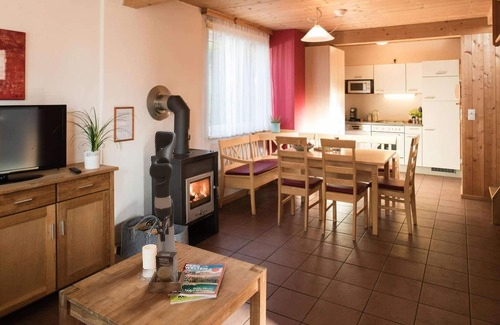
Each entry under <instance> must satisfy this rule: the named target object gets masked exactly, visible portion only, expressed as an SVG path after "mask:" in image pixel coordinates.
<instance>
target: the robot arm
mask: <svg viewBox="0 0 500 325" xmlns="http://www.w3.org/2000/svg"><path fill="white" fill-rule="evenodd" d="M176 146H177V134H176V133H175V132H174V131H163V130H157V131H156V132H155V134H154V149H155V150H154V153H155V160H154V161H153V162H152V163H151V165H150V166H149V170H148V172H149V176H150V177H151V178H152V179H154V182H155V183H154V184H155V185H154V200H153V203H154V204H153V211H154V214H155V215H154V216H156V217H158V218H159V219H158V221H157V230H158V232H157V234H158V237H157V238H156V240H157V253H158V252H159V251H169V252H176V242H175V241H176V240H175V236H176V235H175V221H174V220H175V218H174V217H175V216H174V215H175V211H174V210H175V209H174V208H175V206H174V205H175V204H174V201H173V198H171V183H172V181H173V172H174V168H173V166H172V164H171V161H172V160H171V159H172V155H173V153H174V151H175V149H176Z"/></svg>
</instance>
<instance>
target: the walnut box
mask: <svg viewBox="0 0 500 325" xmlns="http://www.w3.org/2000/svg"><path fill="white" fill-rule="evenodd" d="M185 278H186V274H185V270H182V271H181V270H179V271H178V279H180V280H179V282H157V278H156V271H154V272H153V274H152V277H151V278H150V279H149V280H150V281H149V282H148V293H149V294H171V293H170V292H172V291H181V289H182V290H183V288H182V286H183V287H184V285H183V282H184V279H185ZM185 280H186V279H185ZM184 283H185V282H184ZM181 292H182V291H181Z"/></svg>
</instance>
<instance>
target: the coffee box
mask: <svg viewBox="0 0 500 325" xmlns="http://www.w3.org/2000/svg"><path fill="white" fill-rule="evenodd" d="M178 268H179V267H178V252H177V251H175V252H169V251H159V252H158V251H157V254H156V255H155V272H156V278H157V282H178V270H179V269H178Z"/></svg>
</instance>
